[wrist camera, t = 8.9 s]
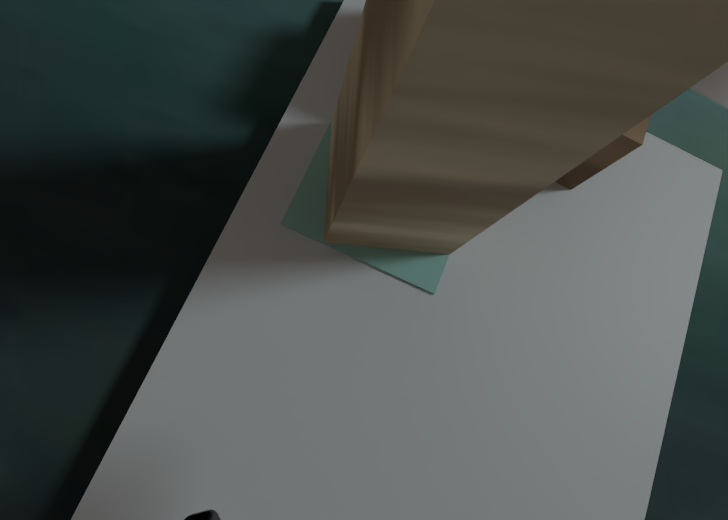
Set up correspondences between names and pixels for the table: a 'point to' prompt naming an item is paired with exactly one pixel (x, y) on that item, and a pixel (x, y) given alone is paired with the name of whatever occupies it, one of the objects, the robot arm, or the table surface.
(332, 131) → the pillar
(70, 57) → the table surface
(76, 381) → the table surface
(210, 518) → the robot arm
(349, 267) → the board
